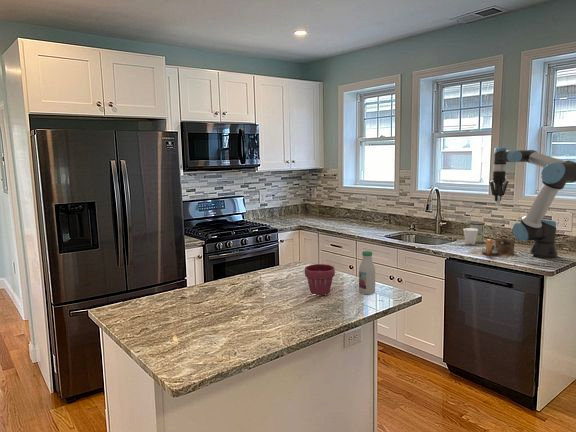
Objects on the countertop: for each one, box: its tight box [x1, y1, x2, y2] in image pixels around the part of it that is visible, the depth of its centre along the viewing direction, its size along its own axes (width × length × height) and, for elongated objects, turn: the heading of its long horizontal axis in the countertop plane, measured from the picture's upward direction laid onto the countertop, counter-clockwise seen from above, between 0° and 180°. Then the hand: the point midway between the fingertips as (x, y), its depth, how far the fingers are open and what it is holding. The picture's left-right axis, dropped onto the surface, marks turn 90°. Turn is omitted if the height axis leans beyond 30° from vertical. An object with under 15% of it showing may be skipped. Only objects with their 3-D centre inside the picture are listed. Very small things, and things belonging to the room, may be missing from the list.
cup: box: [462, 227, 478, 245], centre depth 316 cm, size 10×10×11 cm
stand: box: [467, 237, 516, 259], centre depth 283 cm, size 24×17×10 cm
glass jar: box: [469, 221, 486, 244], centre depth 327 cm, size 10×10×14 cm
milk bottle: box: [358, 250, 376, 295], centre depth 211 cm, size 8×8×20 cm
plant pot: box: [304, 263, 336, 295], centre depth 211 cm, size 14×14×13 cm
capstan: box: [481, 238, 499, 257], centre depth 281 cm, size 11×12×10 cm
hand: (497, 205), depth 299 cm, fingers closed
